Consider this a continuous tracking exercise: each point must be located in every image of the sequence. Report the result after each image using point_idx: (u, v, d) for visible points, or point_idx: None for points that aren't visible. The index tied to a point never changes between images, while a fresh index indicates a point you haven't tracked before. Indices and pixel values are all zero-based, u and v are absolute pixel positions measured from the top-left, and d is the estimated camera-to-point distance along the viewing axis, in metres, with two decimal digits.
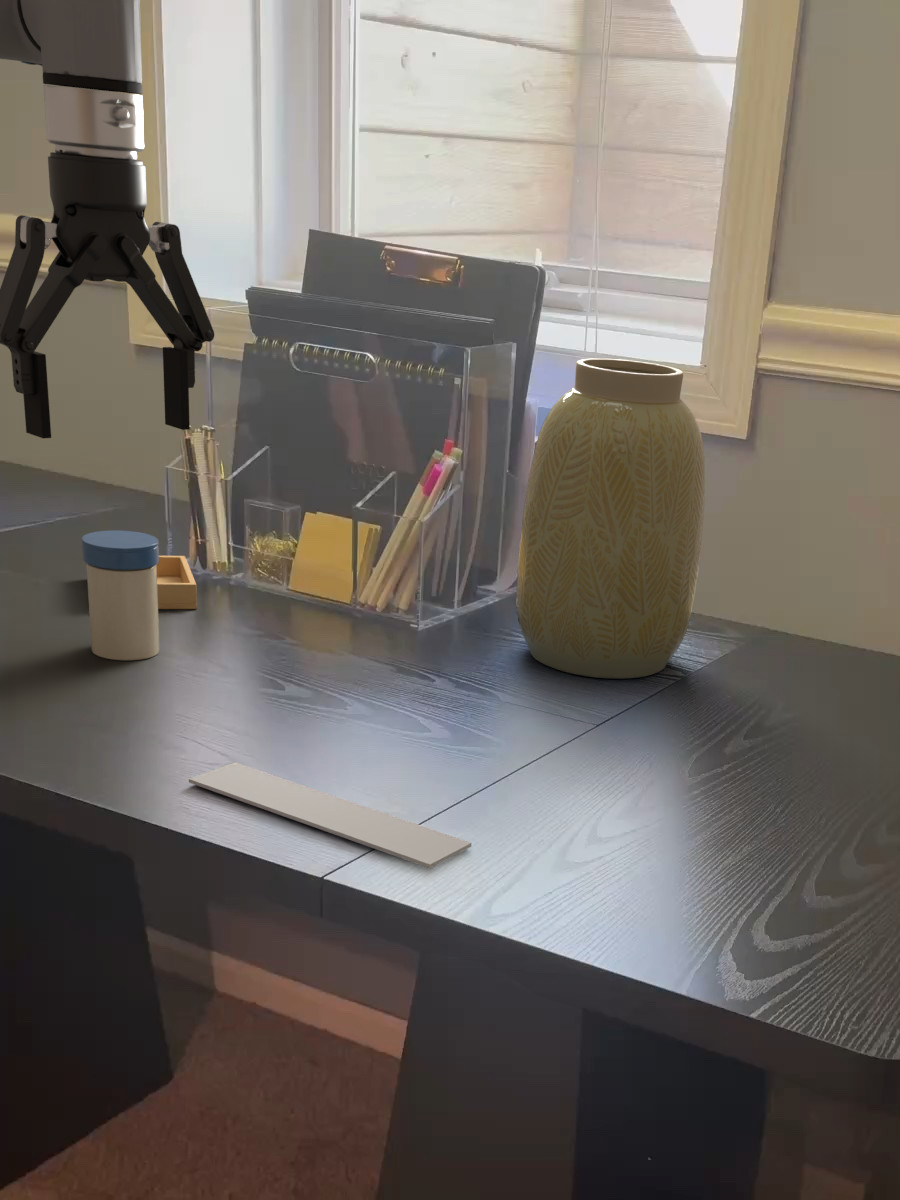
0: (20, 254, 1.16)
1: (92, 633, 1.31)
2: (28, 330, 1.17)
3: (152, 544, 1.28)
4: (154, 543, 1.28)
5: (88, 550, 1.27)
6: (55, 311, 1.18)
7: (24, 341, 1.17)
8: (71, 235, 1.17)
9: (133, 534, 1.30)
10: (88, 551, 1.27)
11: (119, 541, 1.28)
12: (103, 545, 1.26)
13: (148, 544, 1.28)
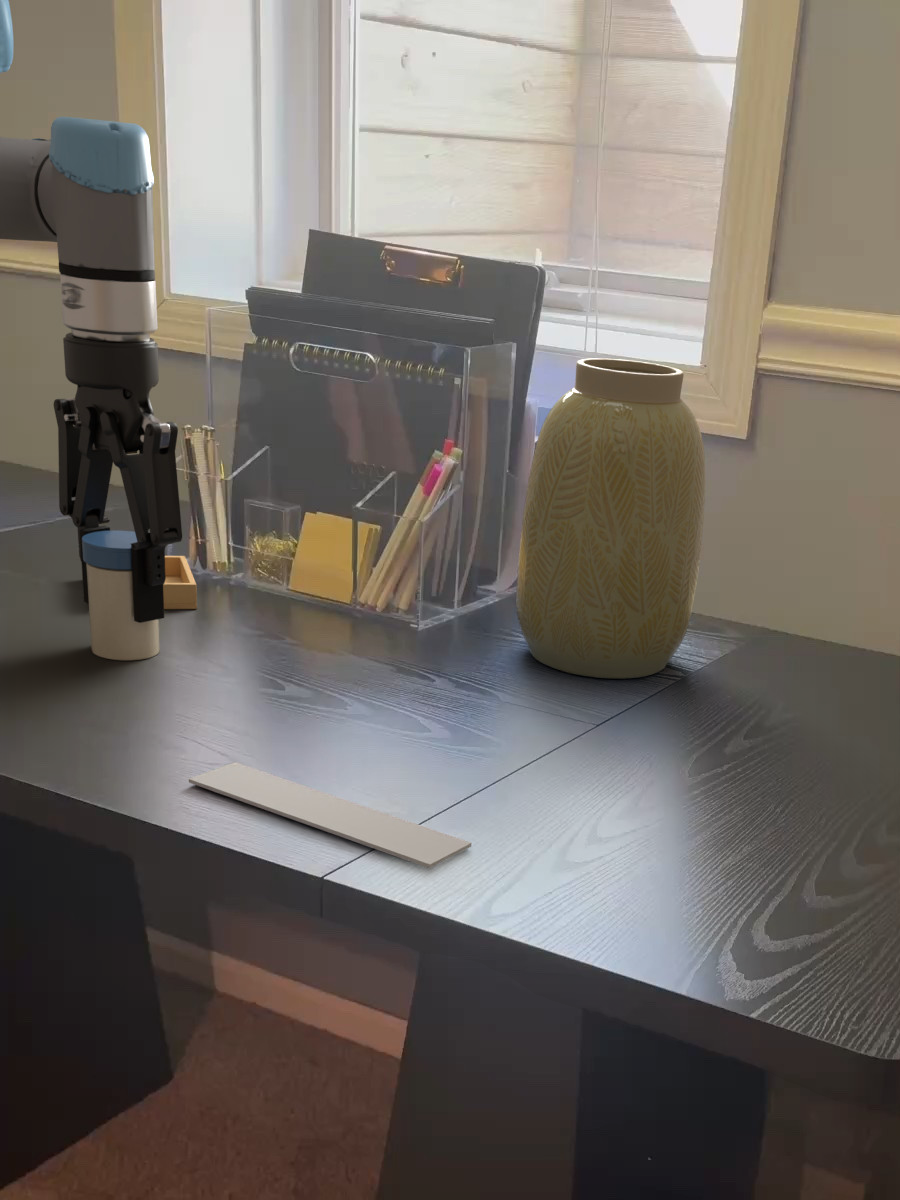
0: None
1: (92, 633, 1.31)
2: None
3: None
4: None
5: (88, 550, 1.27)
6: (84, 485, 1.27)
7: (73, 517, 1.30)
8: (78, 404, 1.24)
9: (133, 534, 1.30)
10: (88, 551, 1.27)
11: (119, 541, 1.28)
12: (103, 545, 1.26)
13: None
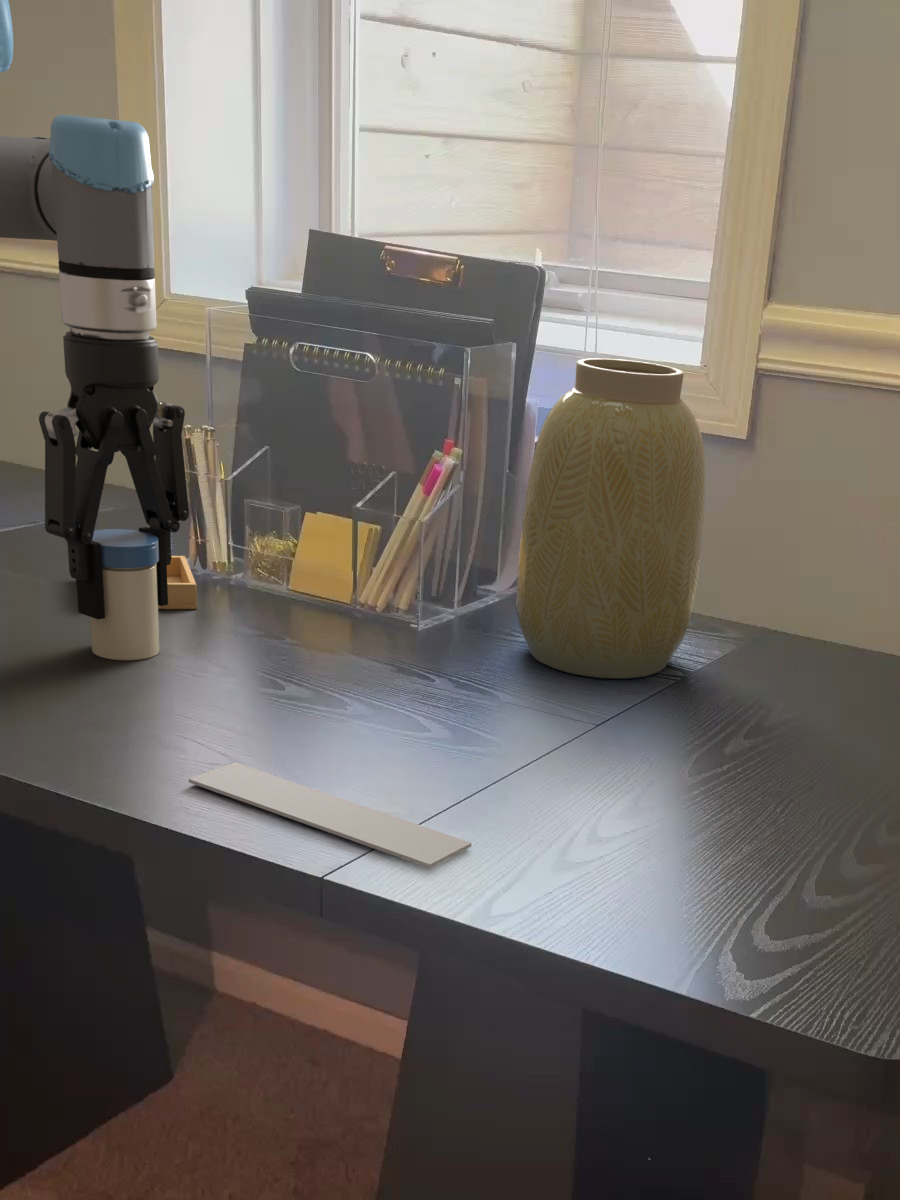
0: (54, 451, 1.20)
1: (92, 633, 1.31)
2: (82, 524, 1.24)
3: (136, 531, 1.31)
4: (132, 530, 1.31)
5: (143, 553, 1.27)
6: (98, 495, 1.24)
7: (82, 536, 1.24)
8: (90, 413, 1.20)
9: (98, 534, 1.29)
10: (143, 554, 1.27)
11: (130, 538, 1.29)
12: (149, 542, 1.28)
13: (137, 531, 1.31)
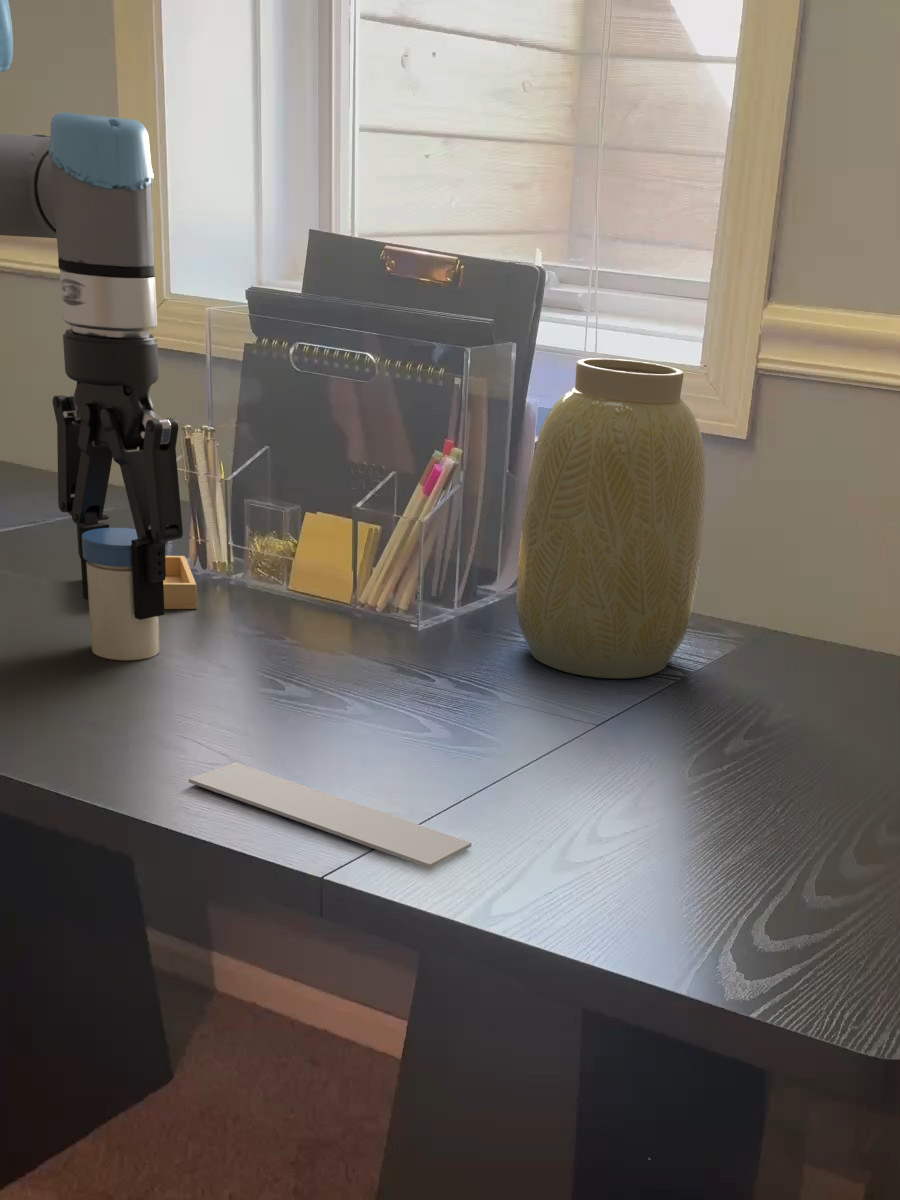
0: None
1: (92, 633, 1.31)
2: None
3: (88, 531, 1.29)
4: (86, 532, 1.29)
5: None
6: (83, 481, 1.27)
7: (72, 514, 1.30)
8: (78, 400, 1.24)
9: (106, 540, 1.27)
10: None
11: (121, 533, 1.29)
12: None
13: (92, 531, 1.29)
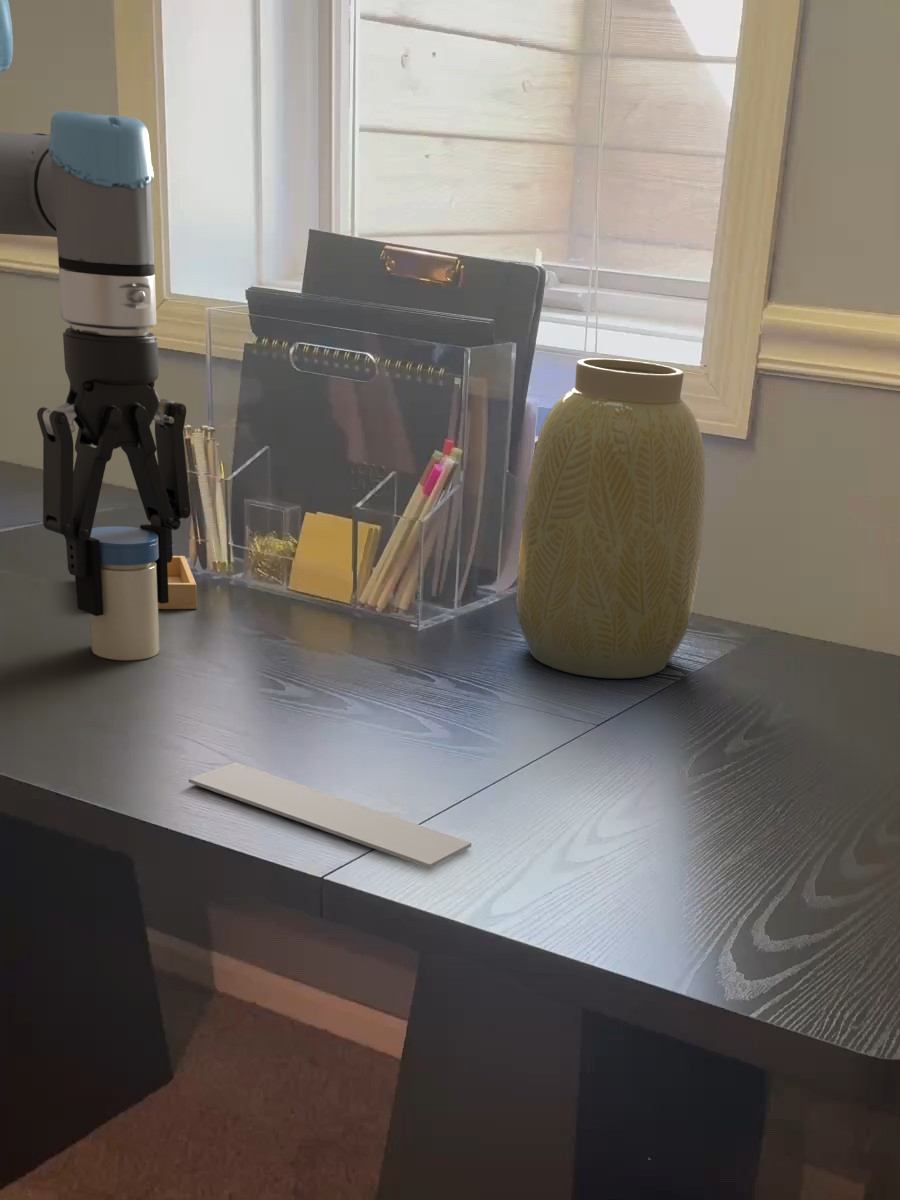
0: (52, 447, 1.20)
1: (92, 633, 1.31)
2: (80, 520, 1.24)
3: (100, 541, 1.26)
4: (105, 542, 1.26)
5: None
6: (96, 492, 1.24)
7: (80, 532, 1.24)
8: (89, 409, 1.20)
9: (141, 538, 1.28)
10: None
11: (109, 534, 1.28)
12: (92, 530, 1.29)
13: (100, 540, 1.26)
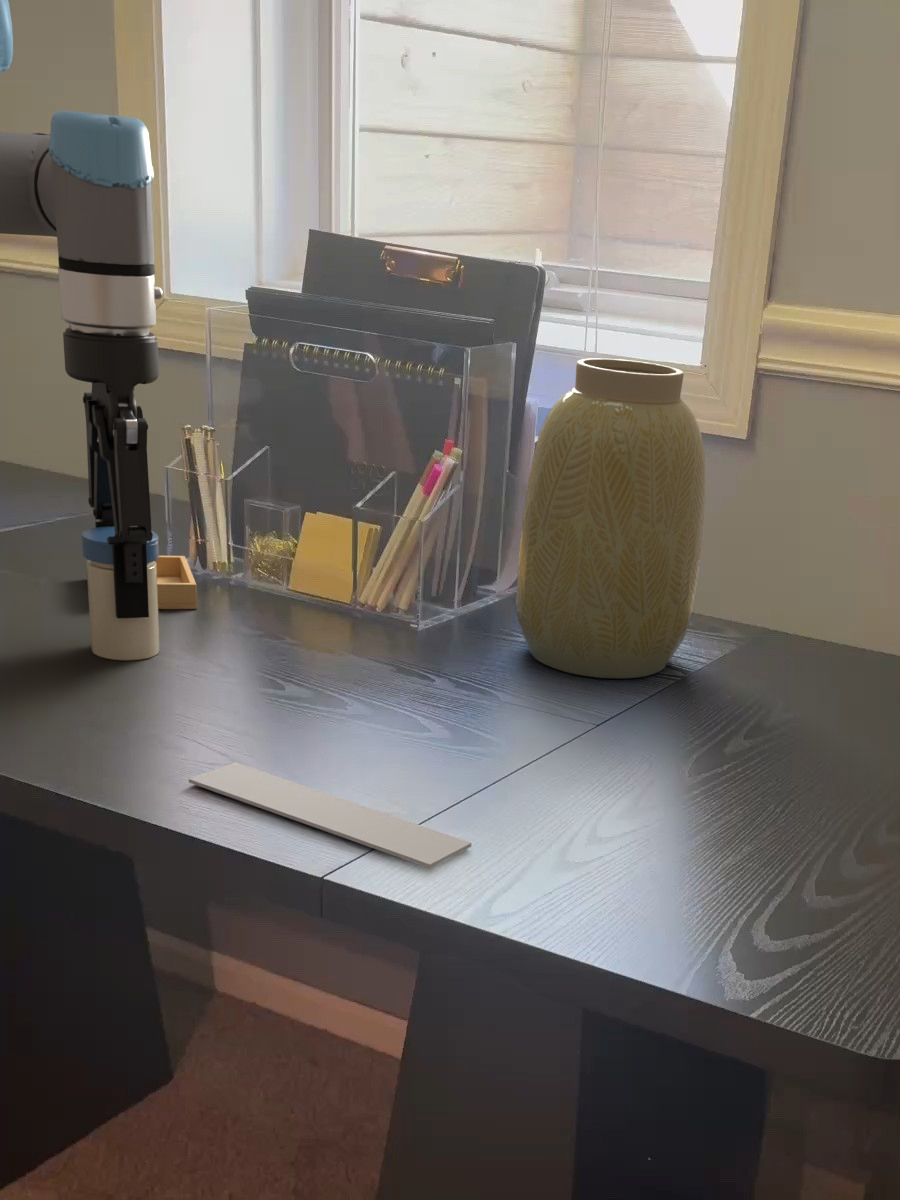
0: (132, 456, 1.20)
1: (92, 633, 1.31)
2: None
3: None
4: None
5: (82, 541, 1.28)
6: None
7: None
8: None
9: None
10: (82, 542, 1.28)
11: None
12: (92, 538, 1.27)
13: None
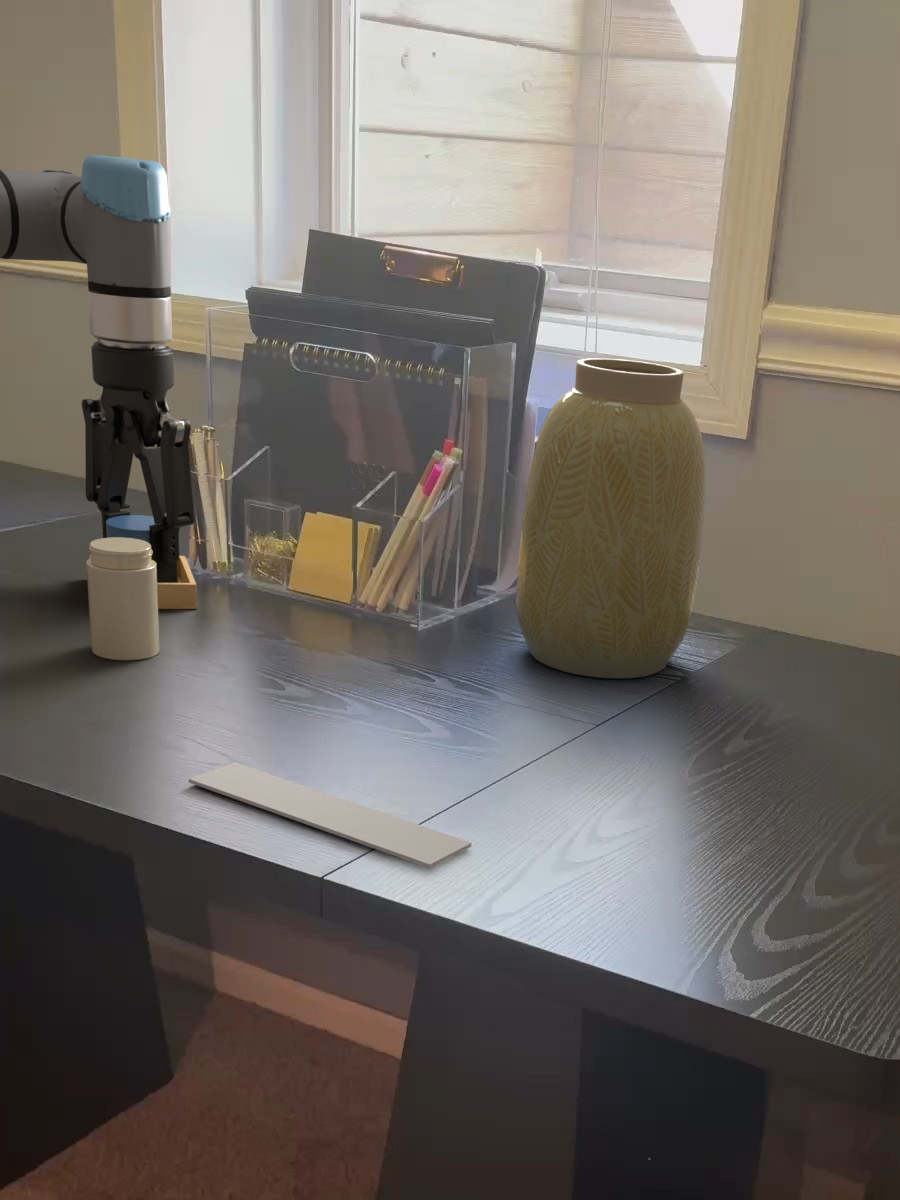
0: (179, 452, 1.40)
1: (92, 633, 1.31)
2: None
3: None
4: None
5: (111, 532, 1.45)
6: None
7: None
8: None
9: (151, 518, 1.48)
10: (111, 532, 1.45)
11: (138, 524, 1.46)
12: (124, 527, 1.44)
13: None
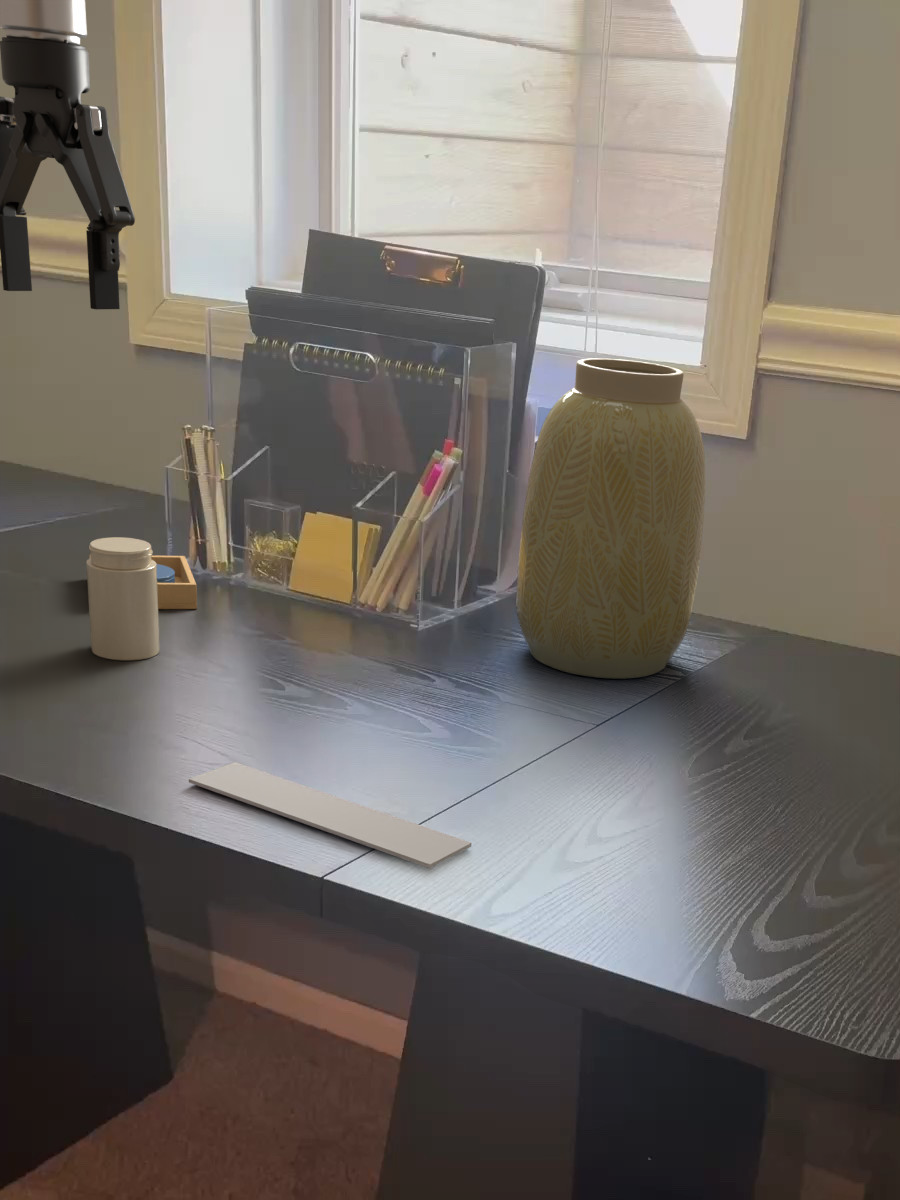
0: (100, 141, 1.29)
1: (92, 633, 1.31)
2: None
3: (169, 575, 1.48)
4: (171, 574, 1.48)
5: None
6: None
7: None
8: None
9: None
10: None
11: None
12: None
13: (165, 575, 1.48)
